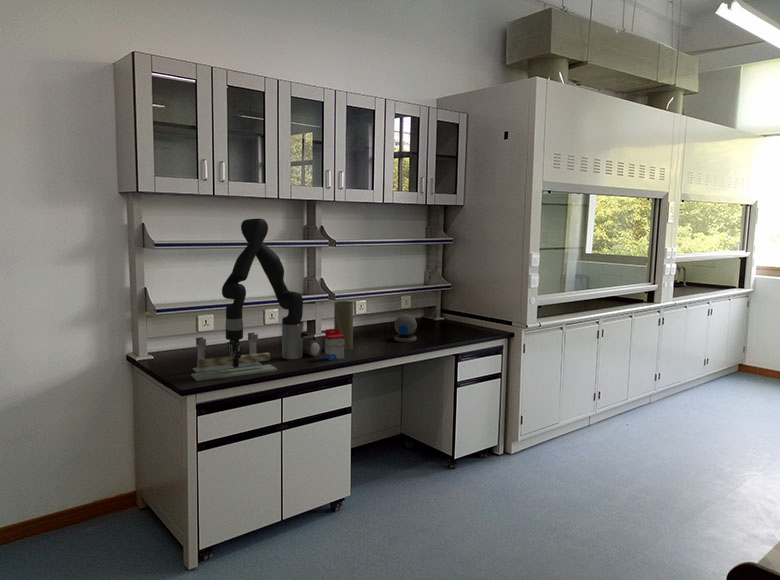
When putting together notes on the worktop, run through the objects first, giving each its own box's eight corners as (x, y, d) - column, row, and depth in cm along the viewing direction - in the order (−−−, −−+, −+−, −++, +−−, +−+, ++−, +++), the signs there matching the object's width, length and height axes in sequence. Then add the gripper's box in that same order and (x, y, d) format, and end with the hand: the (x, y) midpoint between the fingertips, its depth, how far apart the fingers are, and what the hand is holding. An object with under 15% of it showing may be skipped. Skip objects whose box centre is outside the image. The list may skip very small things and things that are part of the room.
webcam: (418, 338, 348) (418, 313, 347) (413, 342, 336) (414, 316, 334) (397, 336, 351) (397, 312, 350) (391, 340, 339) (392, 315, 337)
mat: (269, 366, 275) (269, 364, 275) (276, 370, 268) (276, 368, 268) (191, 376, 256) (191, 373, 256) (196, 381, 249) (196, 378, 249)
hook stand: (256, 362, 282) (256, 331, 280) (262, 366, 276) (261, 334, 274) (192, 370, 266) (191, 337, 265) (197, 374, 260) (196, 340, 258)
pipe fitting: (323, 354, 300) (320, 334, 299) (311, 358, 294) (308, 338, 293) (307, 353, 308) (304, 334, 307) (295, 357, 302) (293, 337, 301)
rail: (267, 358, 271) (267, 352, 271) (270, 360, 269) (270, 353, 268) (197, 366, 254) (196, 359, 254) (198, 368, 252) (198, 361, 251)
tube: (344, 345, 325) (344, 300, 322) (356, 348, 318) (356, 302, 315) (330, 348, 317) (330, 302, 314) (342, 351, 310) (343, 304, 308)
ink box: (329, 360, 289) (329, 331, 287) (324, 358, 293) (324, 329, 291) (344, 358, 294) (344, 329, 292) (339, 356, 298) (339, 328, 296)
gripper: (247, 330, 256) (248, 368, 258) (237, 325, 268) (238, 362, 270) (230, 331, 252) (231, 370, 254) (221, 326, 264) (221, 364, 266)
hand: (234, 366), depth 262 cm, fingers closed on rail, 3 cm apart
